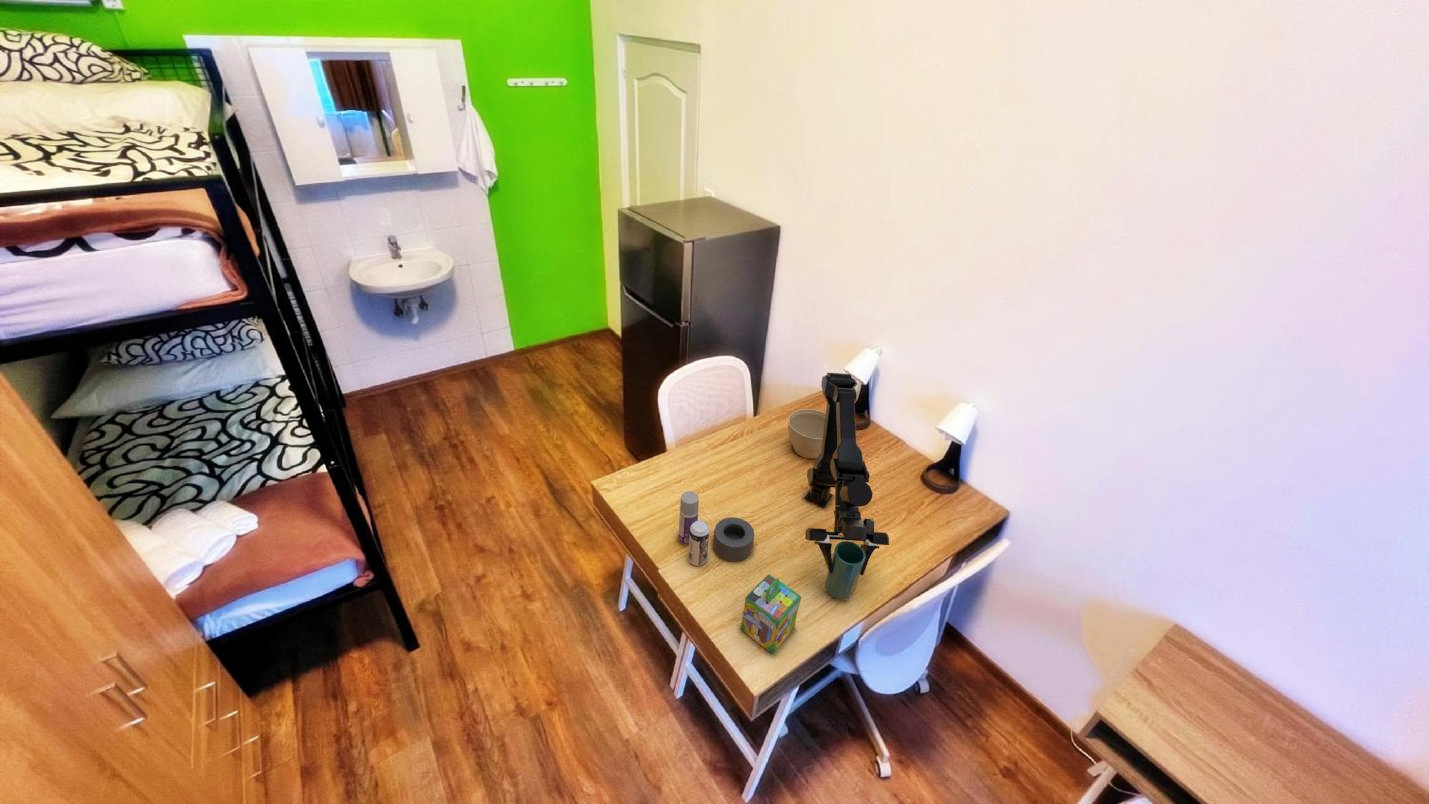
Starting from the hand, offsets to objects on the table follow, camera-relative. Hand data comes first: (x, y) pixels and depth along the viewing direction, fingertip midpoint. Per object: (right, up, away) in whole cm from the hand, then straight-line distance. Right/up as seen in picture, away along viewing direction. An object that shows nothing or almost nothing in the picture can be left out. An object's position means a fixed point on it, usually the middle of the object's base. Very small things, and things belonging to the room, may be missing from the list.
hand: (845, 574), depth 130 cm
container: (-38, +4, +16) cm, 42 cm away
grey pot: (-26, +3, +15) cm, 30 cm away
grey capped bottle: (-35, 0, +11) cm, 37 cm away
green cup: (0, -5, +5) cm, 7 cm away
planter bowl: (0, +25, +52) cm, 57 cm away
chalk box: (-19, -11, -4) cm, 22 cm away
